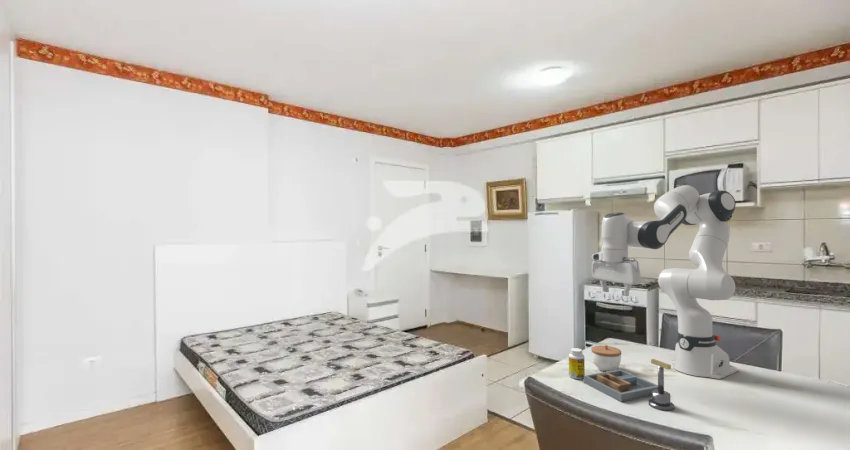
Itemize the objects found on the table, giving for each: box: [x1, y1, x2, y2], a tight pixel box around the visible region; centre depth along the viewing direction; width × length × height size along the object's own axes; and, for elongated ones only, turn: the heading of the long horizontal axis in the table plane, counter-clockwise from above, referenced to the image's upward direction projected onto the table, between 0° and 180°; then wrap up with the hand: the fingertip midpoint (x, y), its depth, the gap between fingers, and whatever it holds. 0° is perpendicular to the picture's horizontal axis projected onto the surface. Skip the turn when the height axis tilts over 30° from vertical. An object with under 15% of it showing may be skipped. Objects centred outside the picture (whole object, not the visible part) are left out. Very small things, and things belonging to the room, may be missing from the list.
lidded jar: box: [590, 344, 622, 372], centre depth 159 cm, size 11×11×9 cm
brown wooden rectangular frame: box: [597, 373, 638, 393], centre depth 141 cm, size 10×12×3 cm
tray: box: [583, 369, 658, 403], centre depth 141 cm, size 17×17×2 cm
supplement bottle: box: [568, 347, 586, 380], centre depth 152 cm, size 6×6×10 cm
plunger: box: [648, 358, 675, 412], centre depth 128 cm, size 7×7×14 cm
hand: (615, 293), depth 151 cm, fingers open, 8 cm apart
